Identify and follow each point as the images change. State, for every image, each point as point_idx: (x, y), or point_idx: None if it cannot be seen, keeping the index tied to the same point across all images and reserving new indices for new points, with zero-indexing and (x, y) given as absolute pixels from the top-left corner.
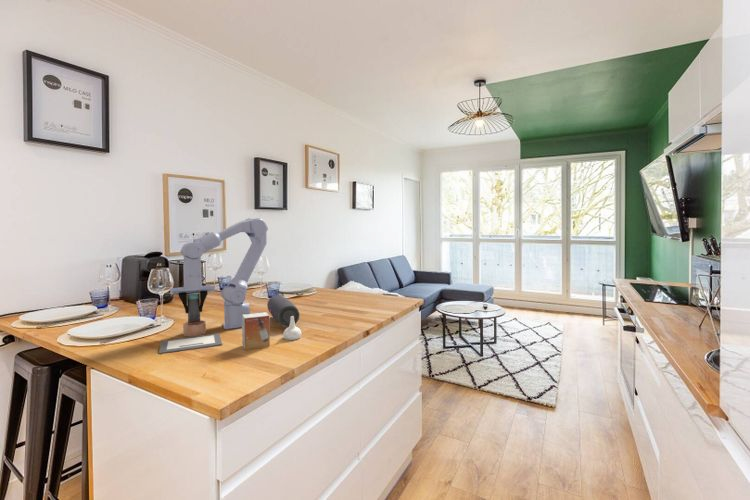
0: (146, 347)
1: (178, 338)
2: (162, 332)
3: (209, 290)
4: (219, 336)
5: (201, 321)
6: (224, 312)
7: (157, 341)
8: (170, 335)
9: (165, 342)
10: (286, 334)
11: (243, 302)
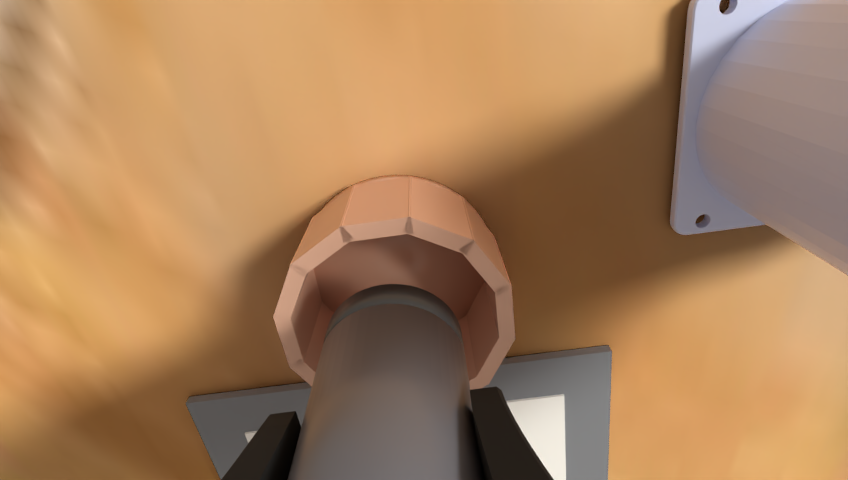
0: (136, 471)
1: (299, 390)
2: (43, 120)
3: None
4: (604, 425)
5: (464, 253)
6: (813, 198)
7: (148, 379)
8: (185, 254)
9: (233, 448)
10: None
11: None
